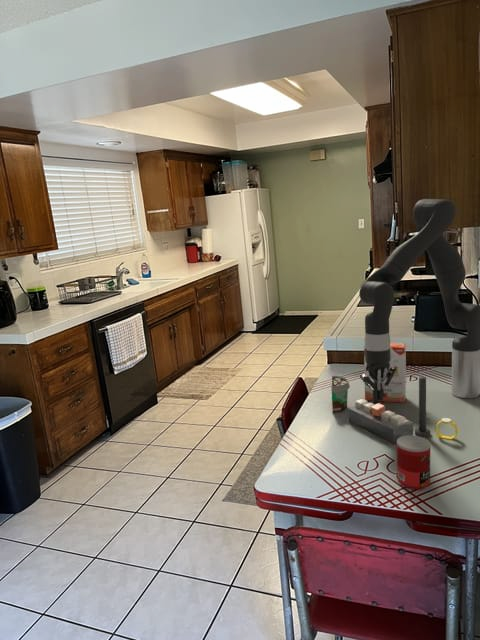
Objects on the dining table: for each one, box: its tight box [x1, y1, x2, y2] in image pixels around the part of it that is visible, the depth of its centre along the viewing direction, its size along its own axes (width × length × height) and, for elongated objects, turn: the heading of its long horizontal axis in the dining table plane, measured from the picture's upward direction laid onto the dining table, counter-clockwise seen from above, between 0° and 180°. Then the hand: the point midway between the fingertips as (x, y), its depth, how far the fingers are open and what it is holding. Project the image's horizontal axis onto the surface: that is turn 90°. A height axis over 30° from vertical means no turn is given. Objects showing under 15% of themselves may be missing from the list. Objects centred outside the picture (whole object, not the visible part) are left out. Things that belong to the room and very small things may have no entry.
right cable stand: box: [414, 376, 431, 438], centre depth 145 cm, size 4×4×18 cm
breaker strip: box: [347, 398, 414, 446], centre depth 151 cm, size 8×20×7 cm, turn 28°
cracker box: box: [363, 342, 407, 404], centre depth 173 cm, size 14×6×21 cm, turn 68°
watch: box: [434, 417, 459, 440], centre depth 142 cm, size 6×3×6 cm, turn 59°
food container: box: [330, 375, 351, 414], centre depth 170 cm, size 12×6×10 cm, turn 168°
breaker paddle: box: [371, 402, 386, 417], centre depth 150 cm, size 3×3×2 cm
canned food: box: [396, 435, 431, 491], centre depth 121 cm, size 8×8×11 cm
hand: (378, 399), depth 150 cm, fingers closed
